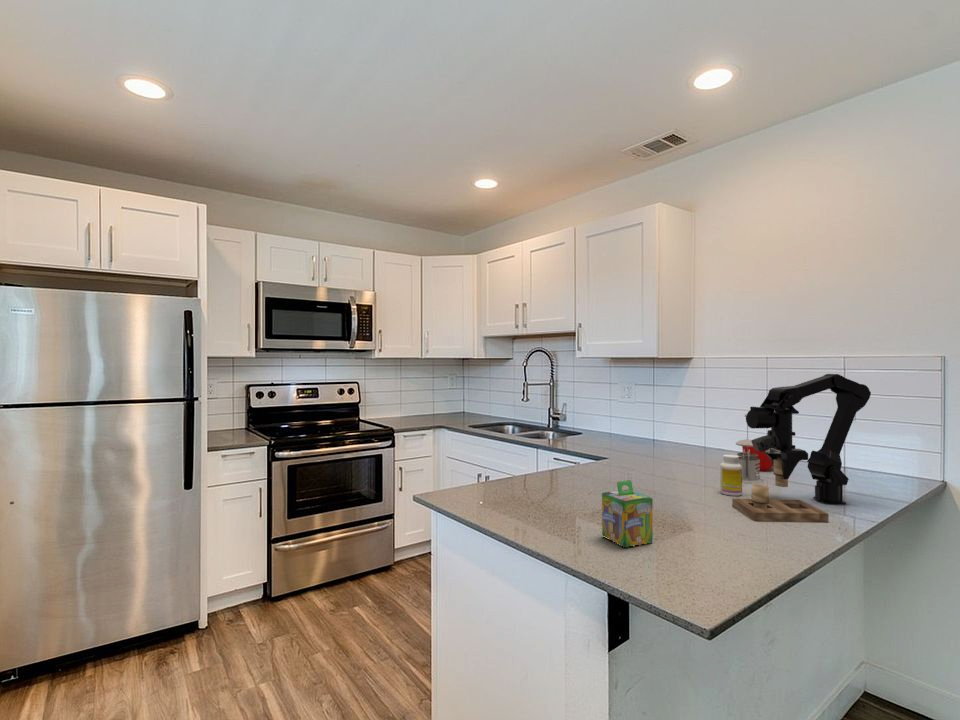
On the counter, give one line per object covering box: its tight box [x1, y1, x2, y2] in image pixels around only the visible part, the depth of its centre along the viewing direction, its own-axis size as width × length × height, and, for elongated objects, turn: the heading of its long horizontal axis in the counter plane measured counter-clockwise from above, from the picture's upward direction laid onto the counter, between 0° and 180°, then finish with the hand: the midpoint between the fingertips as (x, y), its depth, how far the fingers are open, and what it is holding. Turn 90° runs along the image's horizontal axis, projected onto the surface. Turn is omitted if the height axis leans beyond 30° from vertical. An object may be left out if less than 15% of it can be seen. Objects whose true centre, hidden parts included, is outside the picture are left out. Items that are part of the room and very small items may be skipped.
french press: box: [735, 413, 763, 484], centre depth 187 cm, size 10×12×25 cm
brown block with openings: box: [731, 484, 830, 523], centre depth 146 cm, size 20×14×8 cm
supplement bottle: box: [719, 454, 743, 497], centre depth 169 cm, size 7×7×13 cm
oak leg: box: [773, 459, 789, 488], centre depth 157 cm, size 4×4×8 cm
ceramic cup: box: [741, 446, 773, 472], centre depth 206 cm, size 13×17×10 cm
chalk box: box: [601, 479, 654, 548], centre depth 126 cm, size 9×9×15 cm
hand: (781, 477), depth 157 cm, fingers closed on oak leg, 4 cm apart
